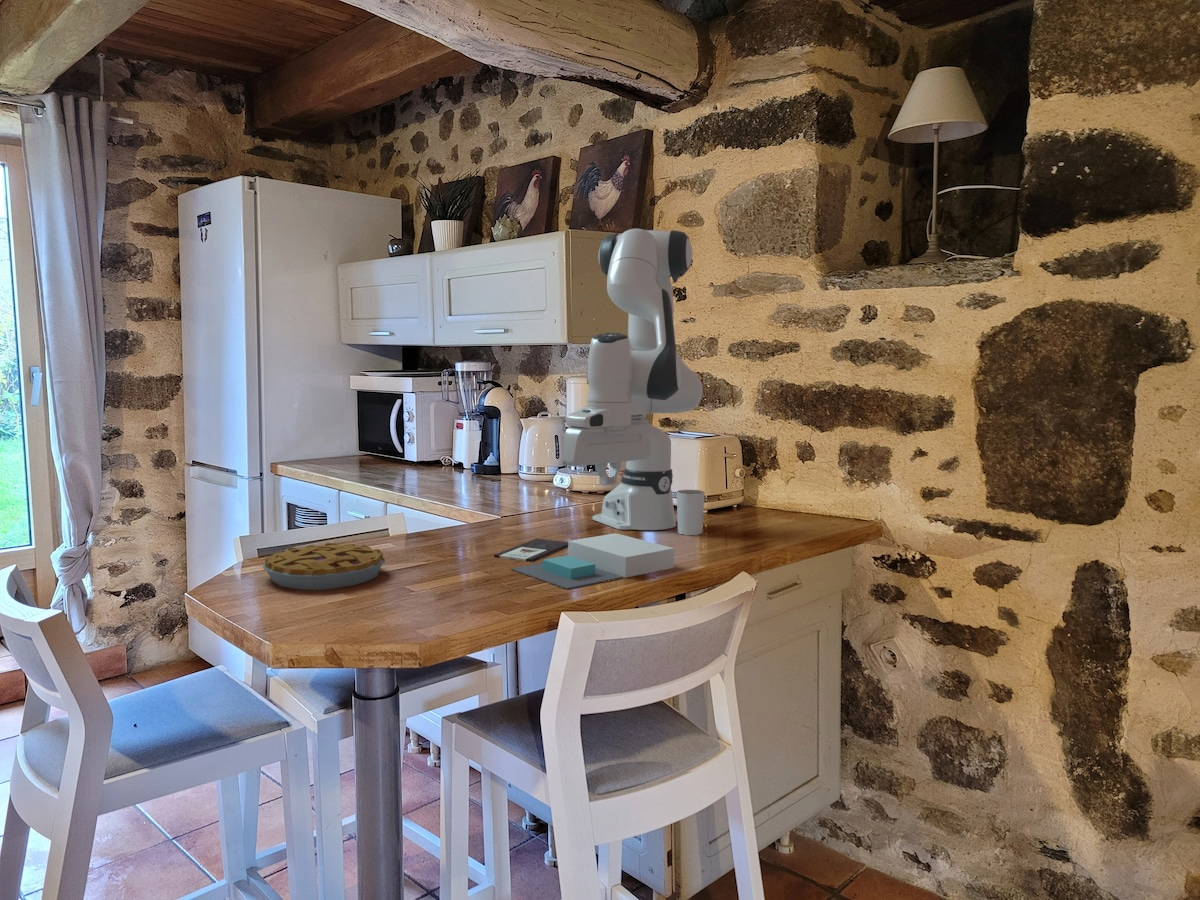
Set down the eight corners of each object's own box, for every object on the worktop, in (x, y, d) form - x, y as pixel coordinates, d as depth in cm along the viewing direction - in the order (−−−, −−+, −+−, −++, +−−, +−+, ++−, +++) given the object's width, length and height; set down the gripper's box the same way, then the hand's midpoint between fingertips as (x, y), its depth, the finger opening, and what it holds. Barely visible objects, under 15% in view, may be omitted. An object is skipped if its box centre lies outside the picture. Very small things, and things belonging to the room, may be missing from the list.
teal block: (566, 555, 176) (566, 565, 176) (542, 559, 172) (542, 569, 173) (595, 564, 169) (595, 574, 170) (570, 568, 166) (570, 579, 166)
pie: (341, 558, 182) (340, 534, 181) (408, 576, 168) (407, 550, 168) (241, 578, 165) (240, 552, 165) (305, 600, 151) (305, 572, 151)
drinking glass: (671, 534, 209) (672, 492, 208) (682, 529, 215) (683, 488, 214) (697, 537, 206) (698, 494, 205) (707, 532, 212) (708, 491, 211)
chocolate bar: (571, 542, 196) (531, 559, 180) (571, 546, 196) (531, 564, 180) (536, 538, 200) (494, 554, 184) (536, 542, 200) (494, 559, 184)
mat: (511, 569, 173) (511, 568, 173) (566, 560, 182) (566, 558, 182) (566, 589, 160) (566, 588, 159) (623, 578, 168) (623, 576, 168)
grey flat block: (568, 559, 182) (568, 540, 182) (615, 551, 190) (615, 533, 190) (625, 577, 168) (625, 557, 168) (673, 567, 177) (674, 548, 176)
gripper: (637, 412, 183) (636, 478, 185) (558, 416, 170) (558, 487, 172) (658, 414, 178) (656, 482, 180) (578, 419, 165) (578, 492, 167)
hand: (608, 484), depth 176 cm, fingers closed
